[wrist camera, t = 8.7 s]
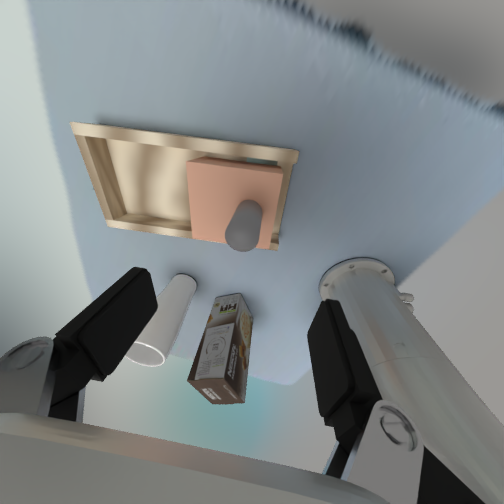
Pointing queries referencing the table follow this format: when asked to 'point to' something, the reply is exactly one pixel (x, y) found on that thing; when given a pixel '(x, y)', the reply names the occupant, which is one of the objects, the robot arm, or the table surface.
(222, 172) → the salmon block with knob
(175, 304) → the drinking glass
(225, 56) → the table surface
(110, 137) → the bay
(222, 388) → the coffee box
